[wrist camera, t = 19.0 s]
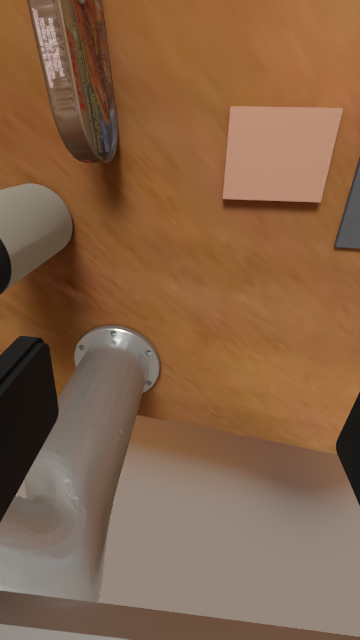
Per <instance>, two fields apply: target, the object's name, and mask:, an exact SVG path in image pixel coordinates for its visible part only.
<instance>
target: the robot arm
mask: <svg viewBox="0 0 360 640" xmlns="http://www.w3.org/2000/svg"><path fill="white" fill-rule="evenodd" d="M74 361H75V366H76V369H75V371H74V372H73V374H72V376H71V377H70V379H69V381H68V382H67V384H66V386H65V387H64V389H63V391H62V392H61V394H60V396H59V397H58V399H57V394H56V388H55V382H54V375H53V369H52V362H51V356H50V349H49V346H48V344H46V343H44V341H43V340H42V339H41V338H37V337H27V336H20V337H18V338H17V339H16V340H15V341H14V342H13V343H12V344H11V345H10V346H9V347H8V348H7V349H6V350H5V351H4V352H3V353H2V354H1V355H0V640H360V637H355V636H348V635H340V634H333V633H326V632H318V631H311V630H304V629H297V628H288V627H281V626H274V625H266V624H259V623H251V622H243V621H235V620H228V619H221V618H213V617H205V616H198V615H189V614H182V613H175V612H167V611H159V610H152V609H144V608H136V607H128V606H120V605H112V604H103V603H98V600H99V596H100V590H101V583H102V576H103V566H104V558H105V549H106V541H107V533H108V526H109V520H110V514H111V510H112V505H113V501H114V496H115V492H116V488H117V484H118V480H119V477H120V473H121V469H122V466H123V462H124V459H125V455H126V451H127V448H128V444H129V440H130V437H131V433H132V430H133V426H134V422H135V419H136V415H137V412H138V408H139V404H140V401H141V397H142V393H144V392H146V391H147V390H149V389H150V388H151V387H152V386H153V385H154V383H155V382H156V380H157V378H158V375H159V370H160V360H159V356H158V354H157V352H156V349H155V348H154V347H153V345H152V344H151V343H150V342H149V341H148V340H147V339H146V338H145V337H144V336H142V335H141V334H139V333H138V332H136V331H133V330H131V329H129V328H125V327H122V326H114V325H110V326H101V327H97V328H95V329H92V330H90V331H89V332H87V333H86V334H85V335H84V336H83V337H82V338H81V339H80V341H79V342H78V344H77V346H76V348H75V352H74ZM336 450H337V454H338V456H339V459H340V461H341V463H342V466H343V468H344V470H345V472H346V475H347V477H348V479H349V481H350V484H351V486H352V488H353V491H354V493H355V496H356V498H357V500H358V503H359V505H360V393H359V395H358V397H357V399H356V401H355V403H354V405H353V407H352V410H351V412H350V414H349V416H348V418H347V420H346V422H345V425H344V427H343V429H342V431H341V433H340V435H339V437H338V439H337V442H336ZM24 479H25V487H26V494H27V499H26V498H22V497H20V496H19V497H16V496H15V495H16V493H17V492H18V489H19V488H20V486H21V484H22V482H23V480H24Z"/></svg>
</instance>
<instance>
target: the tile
mask: <svg viewBox="0 0 360 640" xmlns="http://www.w3.org/2000/svg"><path fill="white" fill-rule="evenodd" d="M342 111H343V108H306V107H240V106H230V111H229V123H228V135H227V147H226V159H225V171H224V183H223V195H222V198H223V199H239V200H267V201H295V202H321V199H322V195H323V191H324V187H325V183H326V178H327V174H328V170H329V166H330V161H331V157H332V153H333V149H334V145H335V140H336V136H337V132H338V128H339V123H340V119H341V115H342Z"/></svg>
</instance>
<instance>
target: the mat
mask: <svg viewBox="0 0 360 640" xmlns="http://www.w3.org/2000/svg"><path fill="white" fill-rule="evenodd" d="M334 246H335V247H343V248H360V158H359V162H358V165H357V169H356V172H355V176H354V179H353V182H352V186H351V189H350V193H349V196H348V200H347V203H346V206H345V210H344V213H343V217H342V220H341V224H340V227H339V231H338V234H337V237H336V241H335V244H334Z"/></svg>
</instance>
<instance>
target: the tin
mask: <svg viewBox="0 0 360 640" xmlns="http://www.w3.org/2000/svg"><path fill="white" fill-rule="evenodd" d="M27 2H28V7H29V12H30V16H31V21H32V25H33V30H34V34H35V39H36V43H37V48H38V52H39V57H40V61H41V66H42V70H43V74H44V79H45V83H46V88H47V92H48V97H49V101H50V105H51V110H52V114H53V117H54V121H55V124H56V127H57V129H58V132H59V134H60V136H61V139H62V141H63V142H64V144H65V146H66V148H67V149H68V150H69V152H70V153H71V154H72V155H73V157H74V158H76V159H77V160H79V161H82V162H85V163H94V162H103V163H109V162H111V161H112V159H113V158H114V155H115V152H116V148H117V141H118V125H117V114H116V106H115V99H114V92H113V84H112V77H111V70H110V62H109V54H108V46H107V39H106V32H105V24H104V17H103V10H102V5H101V0H27Z"/></svg>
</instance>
